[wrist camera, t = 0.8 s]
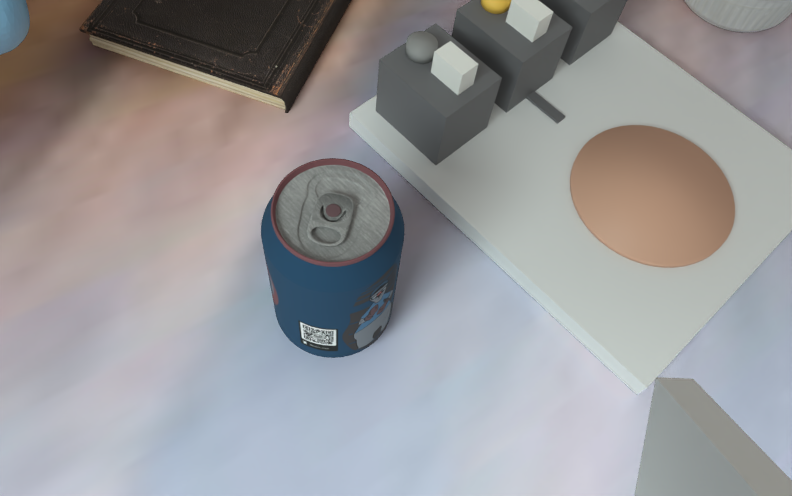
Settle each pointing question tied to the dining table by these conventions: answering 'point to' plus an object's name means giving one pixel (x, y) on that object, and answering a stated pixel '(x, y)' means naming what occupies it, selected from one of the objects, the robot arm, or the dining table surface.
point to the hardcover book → (223, 40)
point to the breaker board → (585, 170)
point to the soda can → (332, 256)
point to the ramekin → (742, 13)
